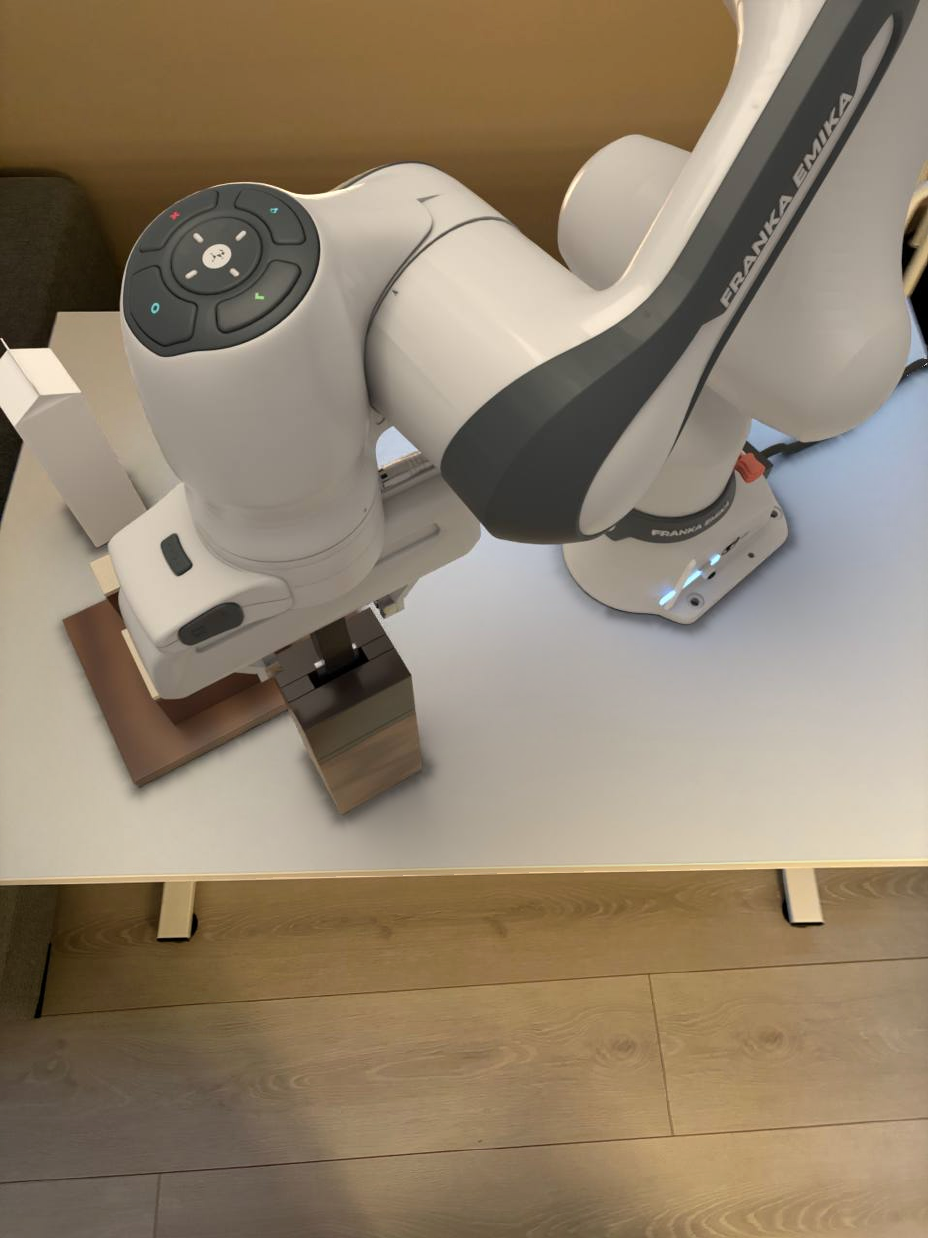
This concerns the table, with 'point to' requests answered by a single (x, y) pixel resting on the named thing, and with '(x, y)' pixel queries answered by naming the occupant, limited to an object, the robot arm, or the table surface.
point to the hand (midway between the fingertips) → (328, 636)
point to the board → (137, 716)
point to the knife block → (355, 715)
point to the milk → (67, 441)
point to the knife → (334, 651)
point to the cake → (200, 699)
